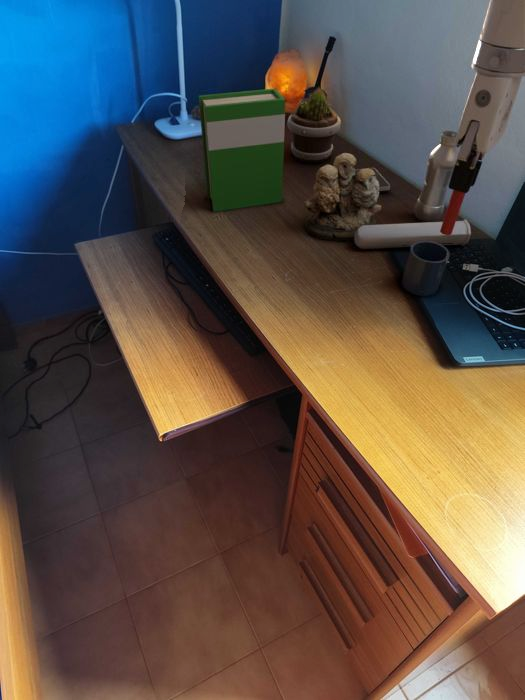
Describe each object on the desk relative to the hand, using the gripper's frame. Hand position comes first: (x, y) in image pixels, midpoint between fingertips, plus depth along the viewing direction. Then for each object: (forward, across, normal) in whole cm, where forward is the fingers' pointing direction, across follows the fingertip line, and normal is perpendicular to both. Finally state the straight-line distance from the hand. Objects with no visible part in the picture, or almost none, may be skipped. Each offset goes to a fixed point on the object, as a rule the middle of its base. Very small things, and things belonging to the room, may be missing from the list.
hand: (461, 186), depth 75 cm
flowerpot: (+23, +42, +52) cm, 70 cm away
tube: (+23, +15, +10) cm, 30 cm away
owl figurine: (+23, +12, +26) cm, 37 cm away
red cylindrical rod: (+9, 0, 0) cm, 9 cm away
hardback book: (+23, +10, +52) cm, 58 cm away
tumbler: (+23, +3, +2) cm, 23 cm away
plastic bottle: (+23, +28, +11) cm, 38 cm away
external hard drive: (+23, +35, +30) cm, 52 cm away
